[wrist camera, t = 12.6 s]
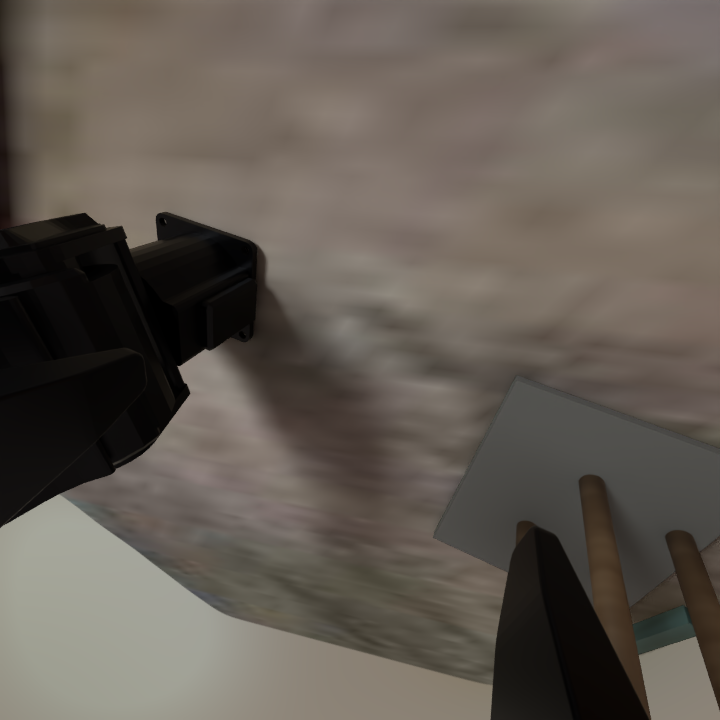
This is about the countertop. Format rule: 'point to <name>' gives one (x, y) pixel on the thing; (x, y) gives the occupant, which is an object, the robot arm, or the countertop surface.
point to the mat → (561, 485)
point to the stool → (700, 618)
